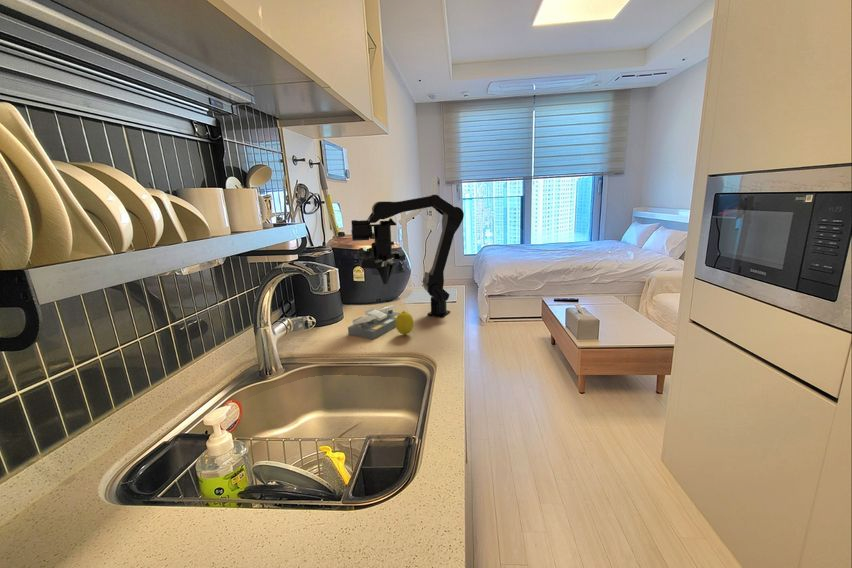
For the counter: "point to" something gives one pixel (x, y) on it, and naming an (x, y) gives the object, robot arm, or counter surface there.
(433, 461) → the counter surface
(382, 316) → the switch middle
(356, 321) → the switch
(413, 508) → the counter surface
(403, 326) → the lemon
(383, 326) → the switch panel
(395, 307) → the switch
